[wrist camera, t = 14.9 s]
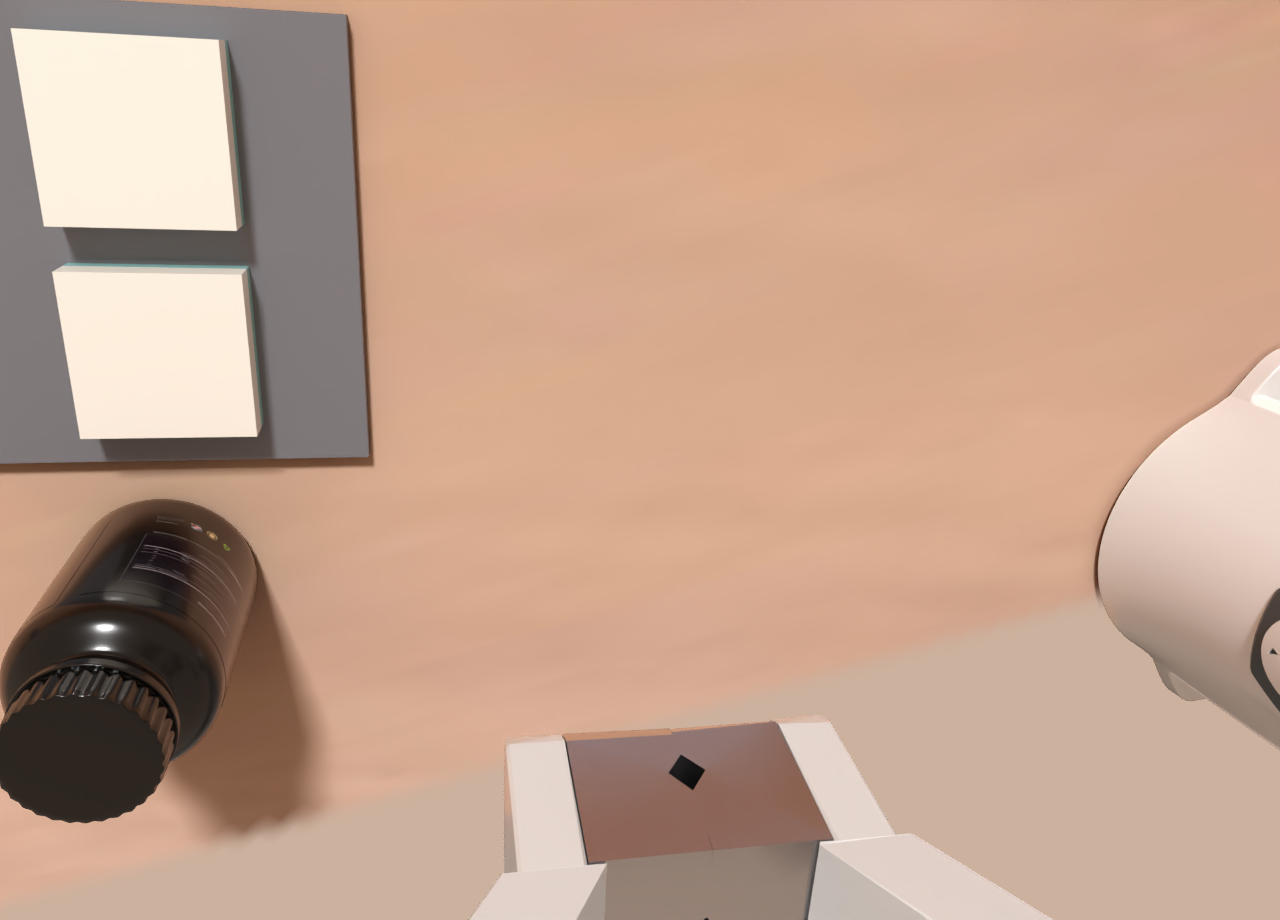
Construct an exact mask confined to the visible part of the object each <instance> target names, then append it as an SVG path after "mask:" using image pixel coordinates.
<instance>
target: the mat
mask: <svg viewBox="0 0 1280 920" xmlns="http://www.w3.org/2000/svg"><path fill="white" fill-rule="evenodd" d="M11 28H20V29H41V30H59V31H77V32H94V33H112V34H130V35H147V36H165V37H182V38H200V39H218V40H228V50H229V61H230V72H231V82H232V93H233V104H234V115H235V125H236V136H237V147H238V157H239V168H240V179H241V189H242V200H243V211H244V222H245V224H244V225H243V226H242V227H240V228H239V229H238V230H237V231H220V230H176V229H133V228H89V227H45V226H44V224H43V218H42V212H41V206H40V200H39V194H38V188H37V182H36V176H35V170H34V164H33V158H32V152H31V146H30V140H29V134H28V128H27V123H26V117H25V111H24V105H23V99H22V93H21V87H20V81H19V75H18V69H17V63H16V57H15V51H14V45H13V39H12V33H11ZM66 263H104V264H164V265H224V266H249V270H250V281H251V291H252V302H253V313H254V323H255V334H256V345H257V356H258V366H259V377H260V388H261V399H262V409H263V420H264V423H263V425H262V427H261V430H260V432H259V434H258V436H257V437H193V438H121V439H80V435H79V429H78V423H77V417H76V411H75V405H74V399H73V393H72V387H71V381H70V375H69V369H68V363H67V357H66V351H65V345H64V339H63V333H62V327H61V322H60V316H59V310H58V304H57V298H56V292H55V286H54V280H53V274H52V272H53V271H54V270H56V269H58V268H60V267H61V266H63V265H65V264H66ZM369 453H370V447H369V428H368V408H367V389H366V369H365V350H364V330H363V311H362V291H361V272H360V252H359V233H358V213H357V194H356V174H355V155H354V135H353V116H352V96H351V77H350V57H349V38H348V18H347V15H344V14H328V13H312V12H296V11H280V10H264V9H248V8H232V7H216V6H200V5H184V4H168V3H152V2H136V1H121V0H0V464H7V463H63V462H120V461H176V460H232V459H289V458H345V457H369Z"/></svg>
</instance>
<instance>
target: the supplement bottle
mask: <svg viewBox="0 0 1280 920" xmlns="http://www.w3.org/2000/svg"><path fill="white" fill-rule="evenodd" d="M256 587H257V570H256V565H255V561H254V558H253V555H252V552H251V550H250V548H249V546H248V544H247V543H246V541H245V539H244V538H243V537H242V535H241V534H240V533H239V532H238V531H237V530H236V528H234V527H233V526H232V525H231V524H230V523H229V522H228V521H226V520H225V519H224V518H222V517H221V516H219V515H218V514H216V513H214V512H212V511H210V510H208V509H206V508H204V507H201V506H199V505H196V504H193V503H189V502H185V501H179V500H171V499H153V500H145V501H140V502H135V503H132V504H129V505H126V506H123V507H121V508H119V509H117V510H115V511H113V512H111V513H109V514H108V515H106V516H105V517H103V518H102V519H101V520H99V521H98V522H97V523H96V524H95V525H94V526H93V527H92V528H91V529H90V530H89V532H88V533H87V534H86V535H85V536H84V538H83V539H82V540H81V542H80V543H79V544H78V546H77V547H76V549H75V550H74V552H73V553H72V554H71V556H70V557H69V559H68V560H67V562H66V563H65V565H64V566H63V567H62V569H61V570H60V572H59V573H58V575H57V576H56V578H55V579H54V580H53V582H52V583H51V585H50V586H49V588H48V589H47V591H46V592H45V593H44V595H43V596H42V598H41V599H40V601H39V602H38V604H37V605H36V606H35V608H34V609H33V611H32V612H31V614H30V615H29V617H28V618H27V619H26V621H25V622H24V624H23V625H22V627H21V628H20V630H19V631H18V633H17V634H16V636H15V637H14V639H13V640H12V642H11V644H10V646H9V647H8V649H7V652H6V654H5V656H4V658H3V661H2V664H1V669H0V700H1V704H2V708H3V711H4V714H5V716H4V718H3V720H2V722H1V724H0V786H1V788H2V789H3V790H5V791H6V792H8V794H9V796H10V798H11V799H13V800H15V801H17V802H19V803H20V805H21V806H22V807H23V808H25V809H29V810H32V811H33V812H34V813H35V814H37V815H40V816H46V817H48V818H50V819H52V820H63V821H65V822H68V823H73V822H81V823H89V822H92V821H104V820H106V819H108V818H116V817H119V816H120V815H122V814H123V813H126V812H131V811H133V810H134V809H135V807H136V806H138V805H141V804H143V803H144V802H145V801H146V799H147V798H148V796H150V795H151V794H153V793H154V792H155V790H156V789H157V786H158V784H159V783H160V782H161V781H162V779H163V777H164V774H165V772H166V769H167V766H168V764H169V763H171V762H173V761H175V760H176V759H178V758H180V757H181V756H183V755H185V754H186V753H187V752H189V751H190V750H191V749H192V748H194V747H195V746H196V745H197V744H198V743H199V742H200V741H201V740H202V739H203V738H204V737H205V735H206V734H207V733H208V731H209V730H210V729H211V727H212V726H213V724H214V722H215V720H216V718H217V716H218V714H219V711H220V709H221V706H222V704H223V701H224V698H225V694H226V691H227V688H228V684H229V681H230V678H231V675H232V671H233V668H234V665H235V661H236V658H237V655H238V652H239V648H240V645H241V642H242V638H243V635H244V632H245V629H246V625H247V622H248V619H249V615H250V612H251V609H252V605H253V601H254V597H255V593H256Z"/></svg>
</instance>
